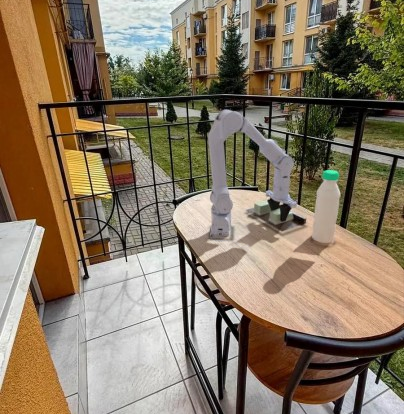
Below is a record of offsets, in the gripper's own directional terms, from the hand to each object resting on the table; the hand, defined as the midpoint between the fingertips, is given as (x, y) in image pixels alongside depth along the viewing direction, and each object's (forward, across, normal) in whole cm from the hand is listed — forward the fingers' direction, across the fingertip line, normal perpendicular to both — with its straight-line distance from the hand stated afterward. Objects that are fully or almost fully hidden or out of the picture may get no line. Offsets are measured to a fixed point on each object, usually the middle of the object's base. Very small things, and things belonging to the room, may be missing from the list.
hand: (279, 218), depth 108 cm
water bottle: (+2, -17, -4) cm, 18 cm away
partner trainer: (+1, +10, 0) cm, 10 cm away
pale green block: (+1, 0, 0) cm, 1 cm away
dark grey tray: (+2, +4, -1) cm, 5 cm away
